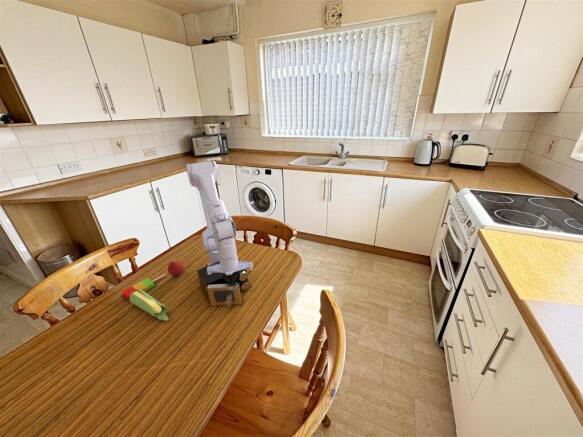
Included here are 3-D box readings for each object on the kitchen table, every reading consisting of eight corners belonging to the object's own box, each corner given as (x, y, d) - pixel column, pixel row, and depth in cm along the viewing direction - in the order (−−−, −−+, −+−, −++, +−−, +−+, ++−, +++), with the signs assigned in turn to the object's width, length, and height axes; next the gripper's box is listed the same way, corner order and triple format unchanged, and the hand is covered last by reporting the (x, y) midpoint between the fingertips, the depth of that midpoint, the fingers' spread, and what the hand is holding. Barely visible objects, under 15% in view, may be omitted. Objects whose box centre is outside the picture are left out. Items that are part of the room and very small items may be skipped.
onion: (179, 281, 93) (175, 264, 90) (167, 279, 94) (161, 263, 91) (188, 272, 98) (184, 255, 95) (176, 270, 99) (171, 254, 96)
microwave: (249, 288, 88) (247, 270, 85) (213, 306, 80) (209, 288, 77) (235, 272, 97) (232, 255, 94) (201, 287, 89) (196, 270, 86)
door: (238, 313, 77) (235, 295, 74) (207, 315, 77) (203, 297, 74) (241, 300, 82) (238, 283, 79) (212, 302, 82) (208, 284, 79)
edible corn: (142, 294, 87) (138, 284, 85) (176, 315, 77) (172, 305, 76) (127, 303, 83) (123, 293, 81) (161, 327, 73) (157, 316, 72)
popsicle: (122, 295, 87) (120, 291, 86) (162, 273, 98) (161, 270, 97) (129, 301, 84) (127, 297, 83) (169, 278, 95) (168, 274, 94)
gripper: (202, 264, 72) (210, 298, 78) (250, 259, 74) (254, 293, 79) (206, 251, 78) (213, 284, 84) (250, 247, 80) (254, 279, 86)
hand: (233, 287), depth 82 cm, fingers closed, pressing on door
